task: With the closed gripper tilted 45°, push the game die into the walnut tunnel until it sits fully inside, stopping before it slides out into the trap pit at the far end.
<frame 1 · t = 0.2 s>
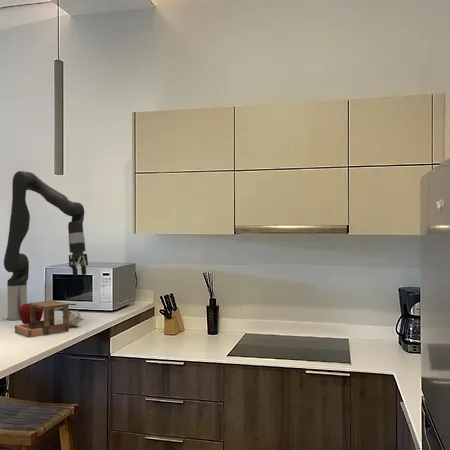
hand: (79, 275, 249), 23 cm above the countertop, tool pointing down, fingers open, 8 cm apart
apple: (31, 326, 241), on the countertop
game die: (72, 327, 238), on the countertop
tunnel: (49, 330, 230), on the countertop
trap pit: (28, 333, 224), on the countertop
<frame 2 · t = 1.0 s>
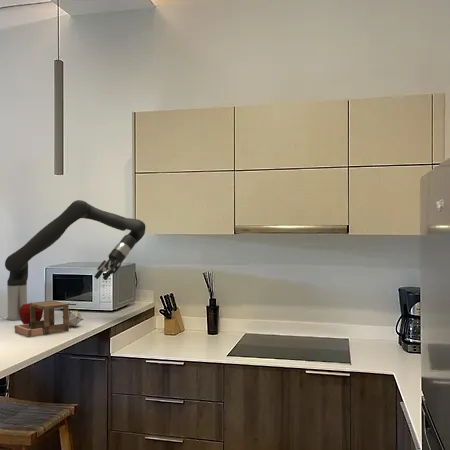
hand: (99, 278, 248), 21 cm above the countertop, tool tilted 45°, fingers open, 7 cm apart
nothing on the countertop moved.
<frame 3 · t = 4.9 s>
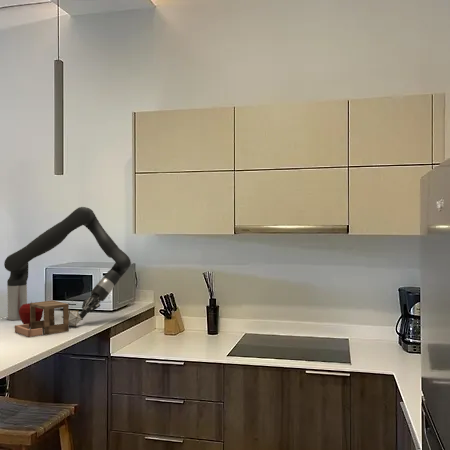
hand: (80, 317, 241), 4 cm above the countertop, tool tilted 45°, fingers closed
game die: (72, 327, 238), on the countertop, touching gripper
everything else where it was.
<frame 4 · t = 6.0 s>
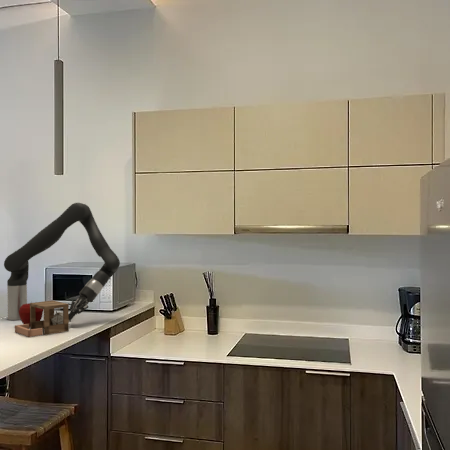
hand: (68, 319, 237), 4 cm above the countertop, tool tilted 45°, fingers closed
game die: (60, 329, 234), on the countertop, touching gripper
everything else where it was.
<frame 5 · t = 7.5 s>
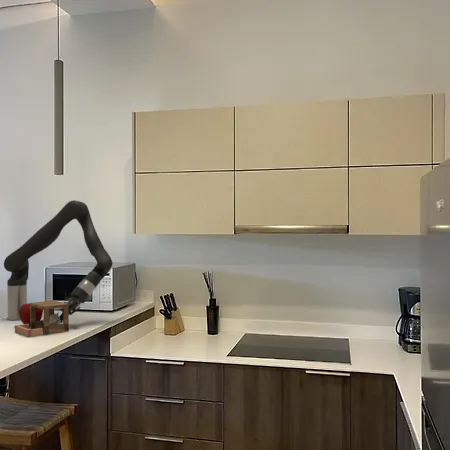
hand: (59, 320, 234), 4 cm above the countertop, tool tilted 45°, fingers closed
game die: (52, 330, 231), on the countertop, touching gripper
everything else where it was.
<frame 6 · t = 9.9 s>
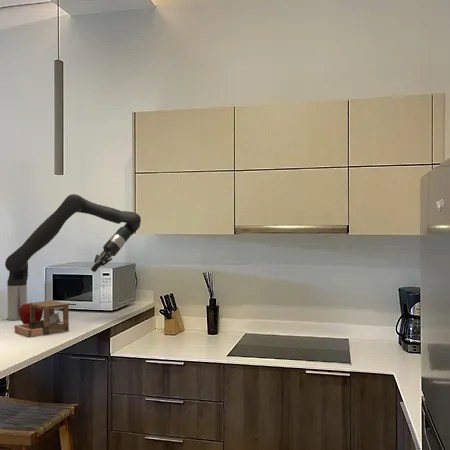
hand: (92, 270, 249), 25 cm above the countertop, tool tilted 45°, fingers closed
game die: (52, 330, 231), on the countertop
everything else where it was.
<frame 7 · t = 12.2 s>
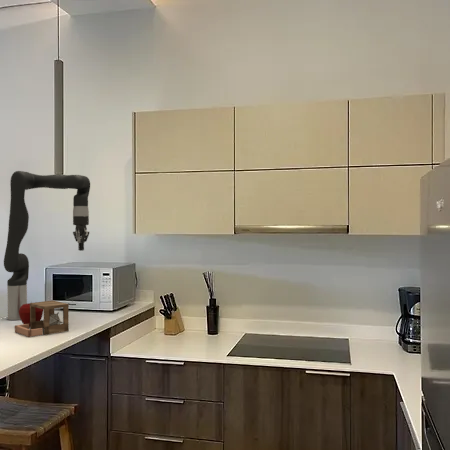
hand: (81, 250, 252), 35 cm above the countertop, tool pointing down, fingers closed
nothing on the countertop moved.
at the end: game die inside the target area (1.6 cm from its centre), on the countertop; game die tilted 0°; game die touching countertop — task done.
